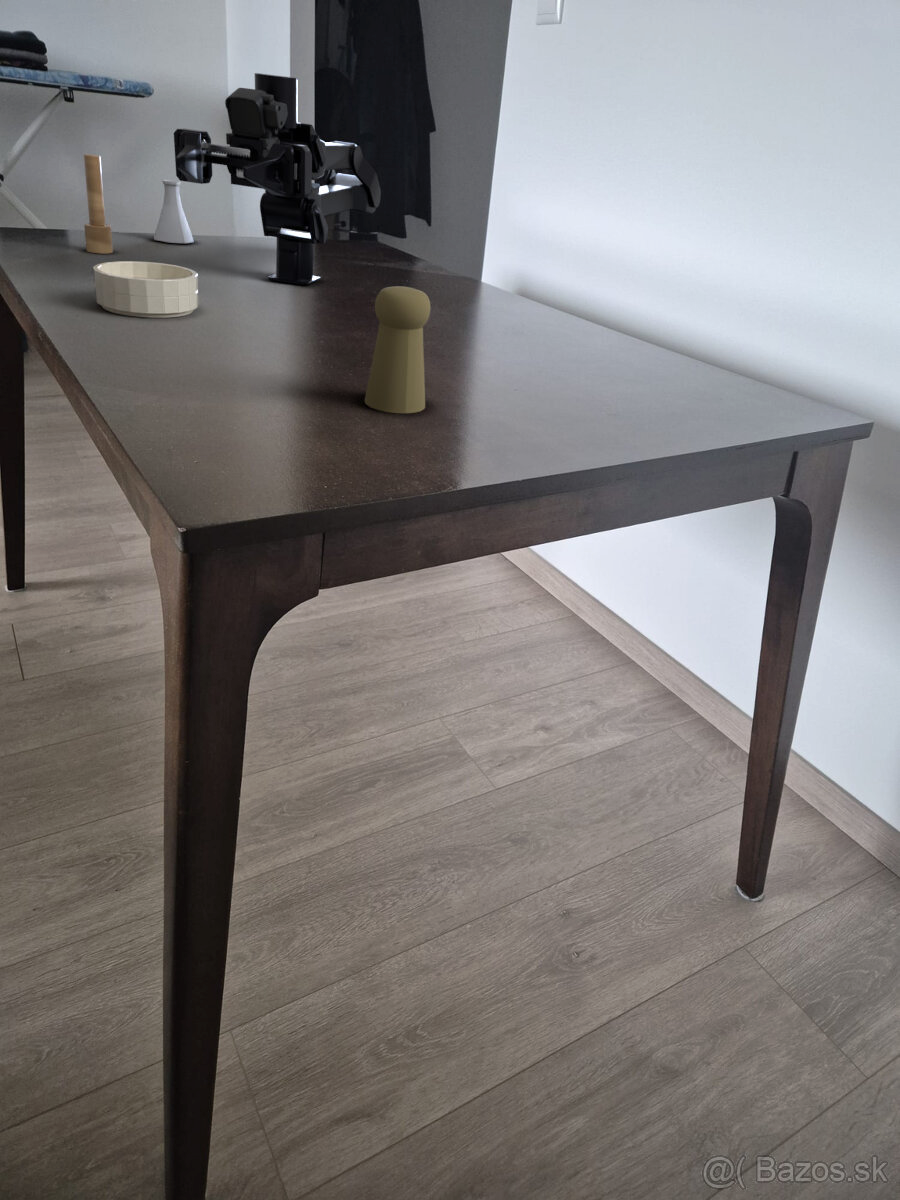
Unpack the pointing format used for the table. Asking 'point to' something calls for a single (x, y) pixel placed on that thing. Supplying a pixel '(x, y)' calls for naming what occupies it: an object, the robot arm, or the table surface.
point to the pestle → (96, 209)
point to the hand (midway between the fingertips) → (210, 167)
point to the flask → (172, 217)
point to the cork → (399, 351)
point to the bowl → (146, 289)
